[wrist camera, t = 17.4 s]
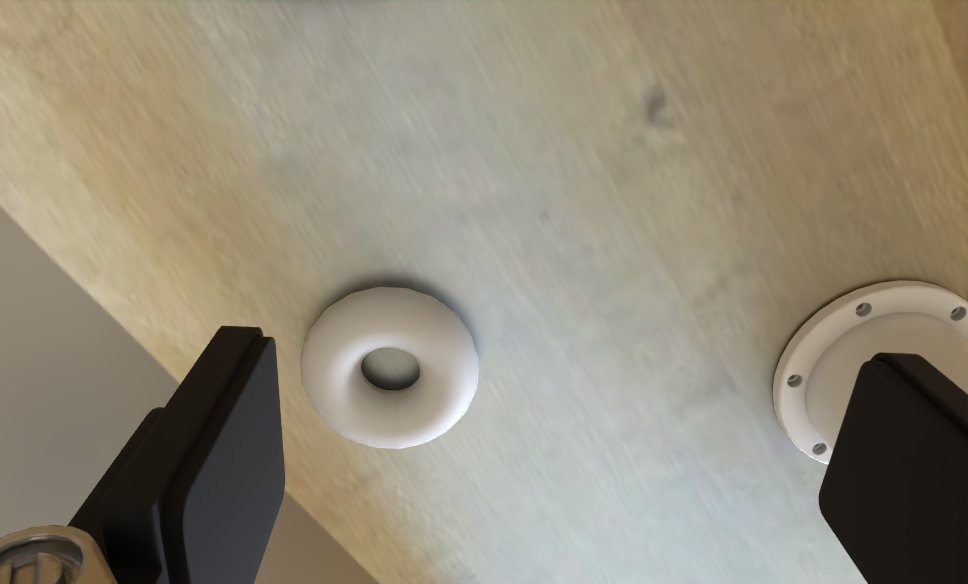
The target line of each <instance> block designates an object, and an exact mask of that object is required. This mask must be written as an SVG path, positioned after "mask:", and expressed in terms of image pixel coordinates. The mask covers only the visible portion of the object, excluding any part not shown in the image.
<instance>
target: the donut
mask: <svg viewBox="0 0 968 584" xmlns="http://www.w3.org/2000/svg"><path fill="white" fill-rule="evenodd" d="M380 348H396V349H399V350H402V351H405V352H407V353H408V354H410V355H411V356H413V357H414V359H415V360H416V361H417V363H418V364H419V367H420V376H419V379H418V380H417V381H416V382H415V383H414V384H413V385H412V386H410V387H408V388H406V389H402V390H397V391H395V390H384V389H381V388H378V387H376V386H374V385H373V384H371V383H370V382H368V381H367V379H366V378H365V377H364V375H363V373H362V370H361V364H362V361H363V359H364V358H365V356H366V355H367V354H369V353H371V352H372V351H374V350H376V349H380ZM478 372H479V359H478V356H477V352H476V349H475V346H474V342H473V339H472V336H471V334H470V332H469V331H468V330H467V328H466V327H465V325H464V324H463V323H462V321H461V320H460V319H459V317H458V316H457V315H456V313H455V312H453V311H452V310H450V309H449V308H448V307H446V306H445V305H443V304H442V303H441V302H439V301H438V300H437V299H435V298H434V297H431V296H428V295H425V294H422V293H420V292H417V291H414V290H411V289H408V288H395V287H375V288H371V289H367V290H363V291H359V292H355V293H351V294H349V295H348V296H346V297H344V298H343V299H341V300H339V301H338V302H336V303H335V304H333V305H331V306H330V307H328V308H327V309H326V310H325V312H324V313H323V314H322V315H321V316H320V318H319V319H318V320H317V321H316V323H315V324H314V325H313V326H312V328H311V329H310V330H309V332H308V335H307V338H306V341H305V344H304V347H303V350H302V353H301V377H302V385H303V387H304V390H305V392H306V394H307V397H308V399H309V401H310V404H311V406H312V407H313V409H314V410H315V411H316V412H317V413H318V415H319V416H320V417H321V418H322V419H323V420H324V421H325V422H326V424H327V425H328V426H329V427H330V428H332V429H333V430H335V431H337V432H338V433H340V434H341V435H343V436H345V437H346V438H348V439H350V440H351V441H355V442H358V443H361V444H365V445H368V446H371V447H375V448H398V449H401V448H406V447H410V446H415V445H419V444H423V443H426V442H428V441H430V440H432V439H434V438H435V437H437V436H439V435H441V434H443V433H445V432H446V431H448V430H449V429H450V428H451V427H452V426H453V425H454V424H455V423H456V422H457V421H458V420H459V419H460V418H461V417H462V416H463V415H464V414H465V413H466V411H467V409H468V407H469V405H470V403H471V401H472V398H473V396H474V394H475V392H476V389H477V385H478Z"/></svg>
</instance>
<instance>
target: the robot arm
mask: <svg viewBox="0 0 968 584" xmlns="http://www.w3.org/2000/svg"><path fill="white" fill-rule="evenodd" d="M772 395H773V403H774V410H775V413H776V415H777V418H778V420H779V423H780V425H781V426H782V428H783V429H784V431H785V432H786V434H787V435H788V437H789V438H790V440H791V441H792V442H793V443H794V444H795V445H796V446H797V447H798V448H799V449H800V450H801V451H802V452H804V453H805V454H806V455H808V456H809V457H811V458H813V459H815V460H817V461H820V462H822V463H825V464H827V465H828V467H827V470H826V473H825V476H824V479H823V483H822V486H821V489H820V492H819V507H820V510H821V513H822V515H823V517H824V519H825V520H826V522H827V523H828V525H829V526H830V528H831V529H832V531H833V532H834V534H835V535H836V537H837V538H838V540H839V541H840V543H841V544H842V546H843V547H844V549H845V550H846V552H847V553H848V555H849V556H850V558H851V559H852V561H853V562H854V564H855V565H856V567H857V568H858V570H859V571H860V572H861V574H862V575H863V577H864V578H865V580H866V581H867V583H868V584H968V302H967V301H965V300H964V299H962V298H961V297H959V296H958V295H957V294H955V293H953V292H951V291H949V290H947V289H945V288H943V287H941V286H938V285H934V284H930V283H926V282H922V281H904V280H898V281H891V282H883V283H877V284H874V285H870V286H867V287H864V288H860V289H857V290H855V291H853V292H851V293H848V294H846V295H844V296H842V297H840V298H838V299H836V300H835V301H833V302H832V303H830V304H829V305H827V306H826V307H824V308H823V309H821V310H820V311H818V312H817V313H816V314H815V315H814V316H813V317H812V318H810V319H809V320H808V321H807V322H806V323H805V324H804V325H803V326H802V327H801V328H800V329H799V331H798V332H797V333H796V334H795V336H794V337H793V338H792V339H791V341H790V342H789V344H788V345H787V347H786V349H785V351H784V353H783V354H782V356H781V358H780V360H779V363H778V366H777V370H776V373H775V376H774V383H773V392H772ZM284 488H285V469H284V455H283V441H282V427H281V413H280V399H279V385H278V371H277V357H276V345H275V340H274V338H273V337H263V332H262V330H261V328H260V327H238V326H221V327H220V328H219V329H218V331H217V332H216V334H215V335H214V337H213V338H212V340H211V341H210V342H209V344H208V345H207V347H206V348H205V350H204V351H203V353H202V354H201V355H200V357H199V358H198V360H197V361H196V363H195V364H194V366H193V367H192V368H191V370H190V371H189V373H188V374H187V376H186V377H185V379H184V380H183V381H182V383H181V384H180V386H179V387H178V389H177V390H176V392H175V393H174V395H173V396H172V397H171V399H170V400H169V402H168V403H167V405H166V406H165V407H164V408H162V407H158V408H155V409H153V410H152V411H151V412H150V413H149V414H148V415H147V416H146V417H145V418H144V420H143V421H142V423H141V424H140V426H139V427H138V428H137V430H136V431H135V433H134V434H133V435H132V437H131V438H130V439H129V441H128V442H127V443H126V445H125V446H124V448H123V449H122V450H121V452H120V453H119V455H118V456H117V457H116V459H115V460H114V462H113V463H112V465H111V466H110V467H109V469H108V470H107V471H106V473H105V474H104V475H103V477H102V478H101V480H100V481H99V482H98V484H97V485H96V487H95V488H94V489H93V491H92V492H91V494H90V495H89V496H88V498H87V499H86V500H85V502H84V503H83V505H82V506H81V507H80V509H79V510H78V512H77V513H76V514H75V516H74V517H73V518H72V520H71V521H70V523H69V524H68V525H67V526H60V525H48V526H40V527H32V528H28V529H25V530H21V531H18V532H14V533H11V534H8V535H5V536H3V537H1V538H0V584H254V581H255V578H256V575H257V572H258V570H259V567H260V564H261V561H262V558H263V555H264V552H265V549H266V546H267V543H268V540H269V537H270V535H271V532H272V529H273V526H274V523H275V520H276V517H277V514H278V511H279V508H280V506H281V503H282V499H283V495H284Z"/></svg>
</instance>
